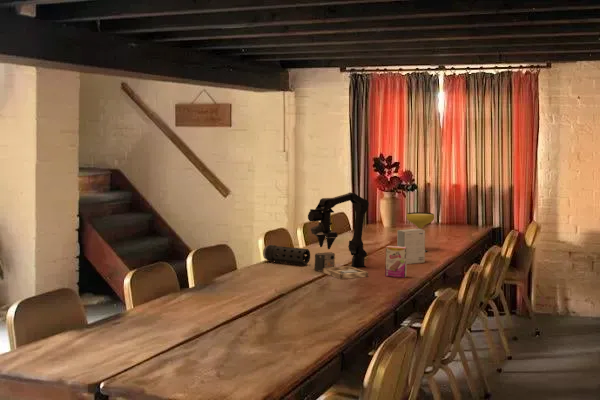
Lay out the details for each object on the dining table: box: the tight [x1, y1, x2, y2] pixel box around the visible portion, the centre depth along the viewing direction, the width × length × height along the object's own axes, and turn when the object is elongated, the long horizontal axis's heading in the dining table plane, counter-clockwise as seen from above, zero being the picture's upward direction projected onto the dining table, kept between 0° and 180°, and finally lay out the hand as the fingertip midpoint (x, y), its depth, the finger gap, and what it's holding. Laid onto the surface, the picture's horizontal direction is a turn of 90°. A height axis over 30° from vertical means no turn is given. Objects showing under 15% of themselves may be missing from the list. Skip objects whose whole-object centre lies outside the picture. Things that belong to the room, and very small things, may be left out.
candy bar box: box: [384, 245, 408, 279], centre depth 405 cm, size 11×5×16 cm, turn 71°
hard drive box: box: [396, 228, 426, 265], centre depth 450 cm, size 16×8×20 cm, turn 115°
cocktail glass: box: [406, 211, 435, 253], centre depth 494 cm, size 18×18×25 cm
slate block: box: [341, 270, 358, 274], centre depth 405 cm, size 8×5×3 cm, turn 114°
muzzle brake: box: [262, 244, 311, 267], centre depth 442 cm, size 10×28×10 cm, turn 59°
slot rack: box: [322, 265, 369, 280], centre depth 409 cm, size 17×20×2 cm
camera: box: [314, 251, 336, 272], centre depth 422 cm, size 11×6×10 cm, turn 112°
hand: (324, 248), depth 421 cm, fingers open, 9 cm apart
